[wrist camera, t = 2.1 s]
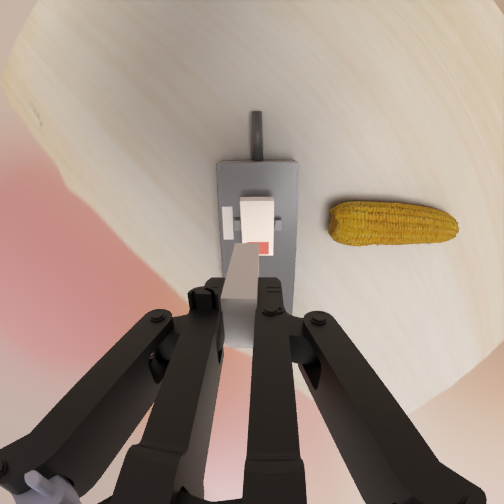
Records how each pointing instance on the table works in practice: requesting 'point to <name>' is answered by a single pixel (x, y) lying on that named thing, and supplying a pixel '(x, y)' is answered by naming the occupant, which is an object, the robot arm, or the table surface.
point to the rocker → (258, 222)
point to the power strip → (261, 185)
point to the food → (389, 224)
